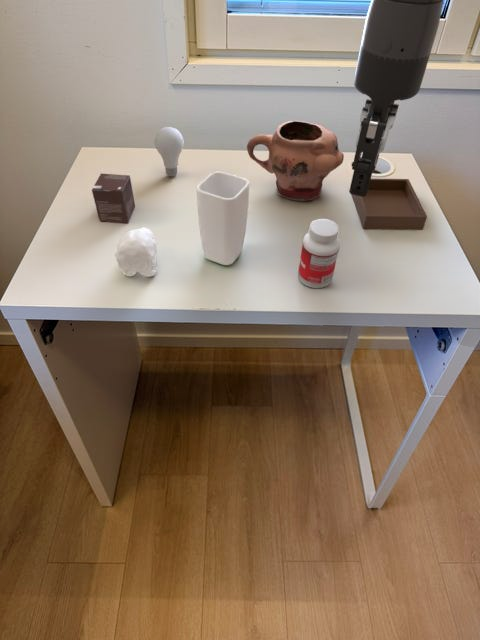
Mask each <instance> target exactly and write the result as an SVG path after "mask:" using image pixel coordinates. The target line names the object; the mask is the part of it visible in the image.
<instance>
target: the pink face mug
mask: <svg viewBox="0 0 480 640" xmlns="http://www.w3.org/2000/svg"><path fill="white" fill-rule="evenodd" d="M258 145H263V146H265V147H266V148H267V150H268V158H267V159H265V160H260V159H258V158H257V157H256V156H255V154H254V149H255V148H256V147H257V146H258ZM246 150H247V154H248V156H249V158H250V159H251V160H253V161H254V162H256V164H258V165H259V166H260V167H261V168H263V169H264V170H266V171H267V172H268V173H269V174H274V176H275V178H276V179H275V185H276V186H275V187H276V190H277V192H278V195H280V196H281V197H283V198H286V199H288V200H293V201H312V200H315V199H316V198H318V197H319V196H320V194H321V192H322V188H323V181H324V179H326V178H327V177H328V175H330V173H331V172H333V171H334V170H336V169H338V167H340V166H341V165H342V164H343V162H344V158H345V155H344V153H343V151H341V150H340V148H339V143H338V136H337V135H336V134H335V133H333V132H332V131H330V130H329V129H327V128H326V127H325V126H323V125H320V124H316V123H312V122H307V121H303V120H290V121H285V122H283V123H281V124H279V125H278V127H277V128H276V129H275V132H274V133H273V134H258V135H255V136H252V137H251V138H249V140H248V142H247V144H246Z"/></svg>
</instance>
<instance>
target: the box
mask: <svg viewBox="0 0 480 640" xmlns="http://www.w3.org/2000/svg"><path fill="white" fill-rule="evenodd" d="M91 193H92V196H93V200H94V204H95V205H94V206H95V208H96V212H97V217H98V220H99V222H112V223H124V224H128V223H129V222H130V219H131V217H132V215H133V213H134V210H135V207H136V203H135V198H134V197H135V196H134V191H133V185H132V179H131V175H128V174H115V173H113V174H112V173H100V174H99V176H98V177H97V180H96V182H95V183H94V185H93V187H92V188H91Z"/></svg>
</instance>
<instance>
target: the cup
mask: <svg viewBox="0 0 480 640" xmlns="http://www.w3.org/2000/svg"><path fill="white" fill-rule="evenodd" d="M249 200H250V182H249V180H248V179H247V178H244V177H241V176H239V175H235V174H231V173H229V172H225V171H222V170H221V171H219V170H218V171H217V170H216V171H214V172H211V173H210V174H208V175H207V176H206V177H204V179H202V180H201V182H199V183H198V184H197V186H196V203H197V204H196V206H197V218H198V227H199V228H198V229H199V237H200V242H201V247H202V251H203V256H204V258H205V259H207V260H209V261H211V262H215V263H216V264H219V265H222V266H231V265H232V264H233V263H234V262H235V261H236V260H237V259H238V257H239V256H240V255H241V254H242V251H243V248H244V247H243V246H244V243H245V237H246V231H247V223H248V214H249V202H250V201H249Z"/></svg>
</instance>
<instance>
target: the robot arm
mask: <svg viewBox="0 0 480 640" xmlns="http://www.w3.org/2000/svg"><path fill="white" fill-rule="evenodd" d="M444 2H445V1H444V0H371V1H370V4H369V7H368V11H367V14H366V18H365V22H364V29H363V33H362V37H361V43H360V48H359V52H358V56H357V57H358V58H357V63H356V67H355V72H354V78H353V85H354V87H355V89H356V90H357V91H358V92H359V93H360V94H362V95H365V96H367V97H369V98H366V100H365V103H364V106H363V107H362V109H361V113H360V117H359V122H360V124H359V128H358V133H357V136H356V139H355V147H356V149H355V153H354V158H353V161H352V162H351V170H353V173H352V178H351V181H350V187H349V189H348V191H349V192H348V193H350V195H351V196H352V195H357V196H361V197H364V196H366V194H367V191H368V187H369V184H370V180H371V178H372V176H373V173H374V172H375V170H376V168H377V163H378V161H379V158H380V154H381V153H383V152H384V150H385V147H386V144H387V140H388V138H389V137H388V136H389V133H390V130H391V129H392V128H393V127H394V123H395V121H396V117H397V114H398V110H399V107H400V104H399V103H395V102H396V101H406V100H410V99H412V98H414V97H415V96H416V95H417V94H419V92H420V89H421V87H422V84H423V80H424V77H425V74H426V70H427V67H428V63H429V59H430V56H431V53H432V49H433V46H434V43H435V39H436V36H437V33H438V29H439V26H440V22H441V15H442V10H443V5H444Z"/></svg>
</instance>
